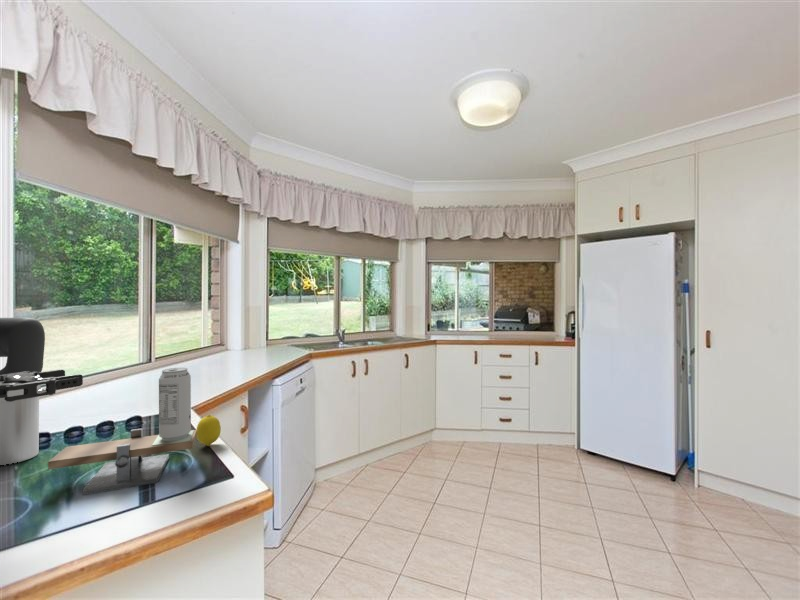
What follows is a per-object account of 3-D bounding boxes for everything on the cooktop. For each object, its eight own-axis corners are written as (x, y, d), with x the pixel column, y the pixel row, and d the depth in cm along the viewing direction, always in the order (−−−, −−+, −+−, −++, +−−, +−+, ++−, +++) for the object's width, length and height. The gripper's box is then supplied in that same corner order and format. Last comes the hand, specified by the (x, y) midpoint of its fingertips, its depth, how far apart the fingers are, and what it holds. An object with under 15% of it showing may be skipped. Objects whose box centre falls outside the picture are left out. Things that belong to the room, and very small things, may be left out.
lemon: (224, 445, 94) (224, 414, 94) (201, 452, 90) (201, 419, 90) (215, 440, 98) (215, 410, 98) (192, 446, 93) (192, 415, 93)
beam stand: (82, 495, 70) (82, 452, 70) (105, 467, 82) (106, 431, 82) (157, 482, 74) (157, 443, 74) (168, 458, 86) (168, 424, 86)
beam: (48, 469, 70) (48, 460, 70) (66, 453, 77) (66, 445, 77) (192, 448, 79) (192, 440, 79) (196, 436, 86) (196, 428, 86)
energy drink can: (197, 434, 83) (196, 368, 83) (171, 444, 77) (170, 372, 77) (179, 431, 85) (178, 366, 85) (152, 440, 80) (152, 371, 80)
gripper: (-49, 378, 54) (88, 361, 68) (-70, 368, 61) (58, 354, 75) (-49, 429, 54) (88, 401, 68) (-69, 413, 61) (59, 391, 75)
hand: (72, 377), depth 71 cm, fingers open, 8 cm apart
